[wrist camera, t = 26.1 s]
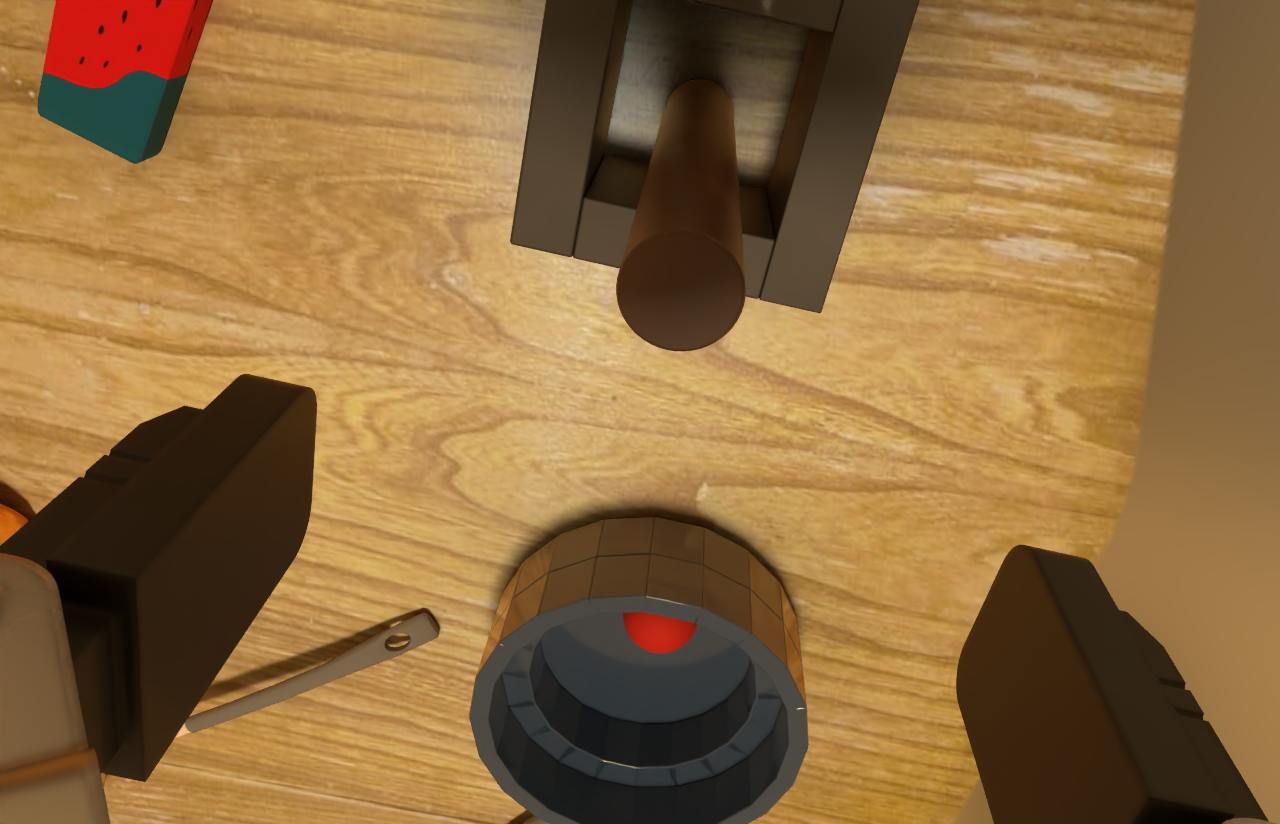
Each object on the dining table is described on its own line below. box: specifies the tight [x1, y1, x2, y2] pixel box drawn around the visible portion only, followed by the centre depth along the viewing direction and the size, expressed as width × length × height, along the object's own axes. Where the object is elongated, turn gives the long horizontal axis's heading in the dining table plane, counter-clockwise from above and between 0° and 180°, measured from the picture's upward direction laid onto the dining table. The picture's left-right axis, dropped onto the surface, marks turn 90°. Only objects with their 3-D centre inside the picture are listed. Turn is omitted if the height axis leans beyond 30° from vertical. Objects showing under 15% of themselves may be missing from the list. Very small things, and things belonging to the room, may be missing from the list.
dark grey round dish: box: [469, 517, 808, 824], centre depth 42 cm, size 14×14×6 cm
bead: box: [623, 612, 697, 653], centre depth 41 cm, size 3×3×3 cm
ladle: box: [101, 612, 439, 786], centre depth 48 cm, size 6×28×5 cm, turn 115°
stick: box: [616, 79, 746, 351], centre depth 26 cm, size 2×2×18 cm
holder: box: [510, 0, 920, 313], centre depth 31 cm, size 10×10×6 cm
